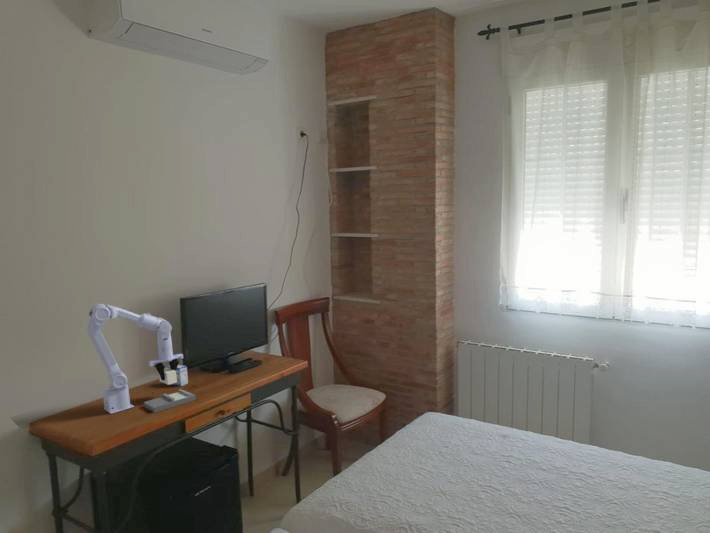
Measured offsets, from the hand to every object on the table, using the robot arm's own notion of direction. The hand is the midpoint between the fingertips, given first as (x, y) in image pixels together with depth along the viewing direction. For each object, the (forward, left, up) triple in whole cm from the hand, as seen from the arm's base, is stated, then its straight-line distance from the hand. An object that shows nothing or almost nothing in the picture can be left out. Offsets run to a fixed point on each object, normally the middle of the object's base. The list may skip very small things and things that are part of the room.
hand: (168, 378), depth 231 cm
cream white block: (0, 0, -2) cm, 2 cm away
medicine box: (+11, +15, -9) cm, 20 cm away
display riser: (-3, -7, -8) cm, 11 cm away
